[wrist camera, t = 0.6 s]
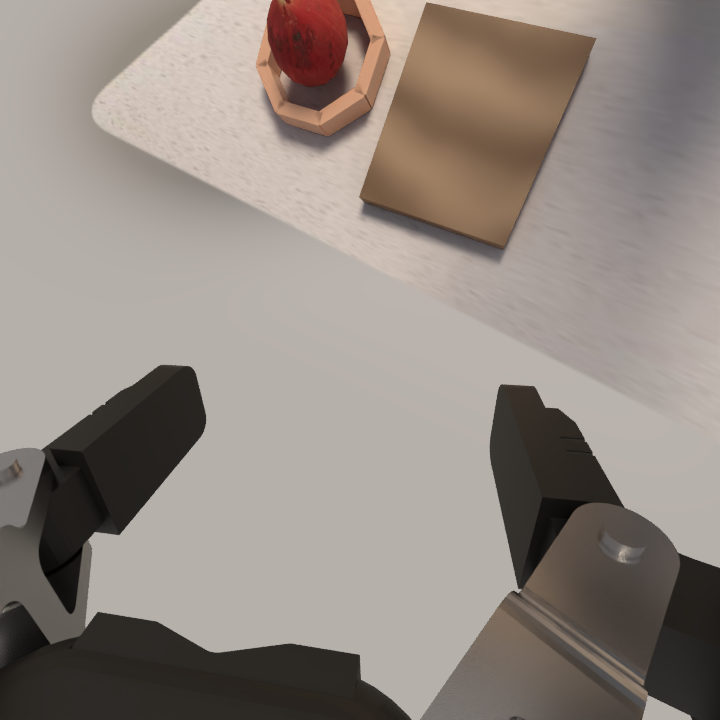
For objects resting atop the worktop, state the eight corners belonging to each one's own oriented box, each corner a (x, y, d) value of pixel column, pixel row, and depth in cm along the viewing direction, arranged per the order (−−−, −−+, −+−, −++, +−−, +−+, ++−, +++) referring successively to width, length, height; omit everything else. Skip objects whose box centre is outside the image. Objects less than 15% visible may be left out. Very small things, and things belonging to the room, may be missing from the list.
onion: (361, 97, 31) (326, 29, 24) (297, 111, 33) (244, 52, 25) (357, 19, 31) (319, -77, 23) (292, 38, 32) (236, -46, 25)
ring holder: (293, -13, 32) (281, -34, 30) (404, 11, 30) (399, -9, 28) (258, 115, 34) (245, 103, 32) (359, 146, 32) (352, 136, 30)
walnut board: (428, 17, 29) (426, 2, 28) (589, 52, 27) (596, 38, 25) (364, 202, 32) (359, 197, 31) (502, 249, 30) (504, 246, 28)
